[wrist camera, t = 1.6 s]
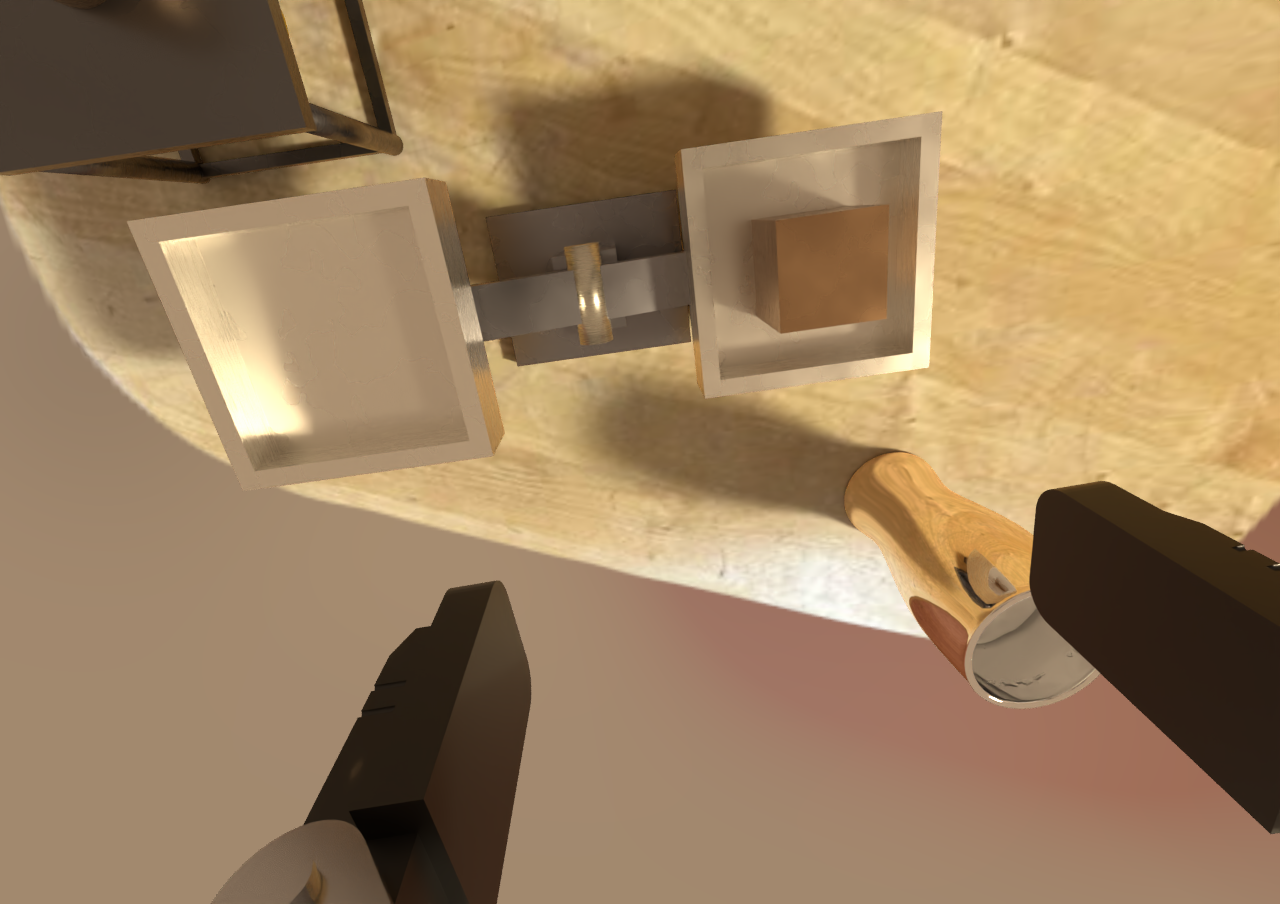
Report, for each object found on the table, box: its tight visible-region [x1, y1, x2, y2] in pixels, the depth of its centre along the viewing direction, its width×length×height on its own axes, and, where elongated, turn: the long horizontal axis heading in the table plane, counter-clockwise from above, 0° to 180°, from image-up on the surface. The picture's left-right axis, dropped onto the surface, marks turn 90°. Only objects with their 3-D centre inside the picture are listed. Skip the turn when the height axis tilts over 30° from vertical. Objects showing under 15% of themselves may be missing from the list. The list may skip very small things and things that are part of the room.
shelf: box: [127, 111, 942, 491], centre depth 28 cm, size 11×31×11 cm, turn 98°
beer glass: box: [844, 452, 1101, 709], centre depth 32 cm, size 7×7×15 cm
